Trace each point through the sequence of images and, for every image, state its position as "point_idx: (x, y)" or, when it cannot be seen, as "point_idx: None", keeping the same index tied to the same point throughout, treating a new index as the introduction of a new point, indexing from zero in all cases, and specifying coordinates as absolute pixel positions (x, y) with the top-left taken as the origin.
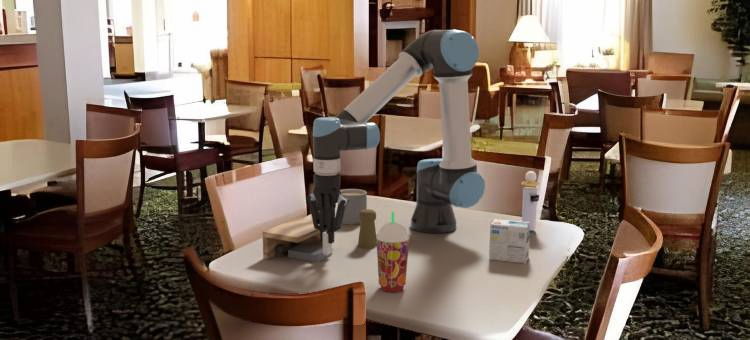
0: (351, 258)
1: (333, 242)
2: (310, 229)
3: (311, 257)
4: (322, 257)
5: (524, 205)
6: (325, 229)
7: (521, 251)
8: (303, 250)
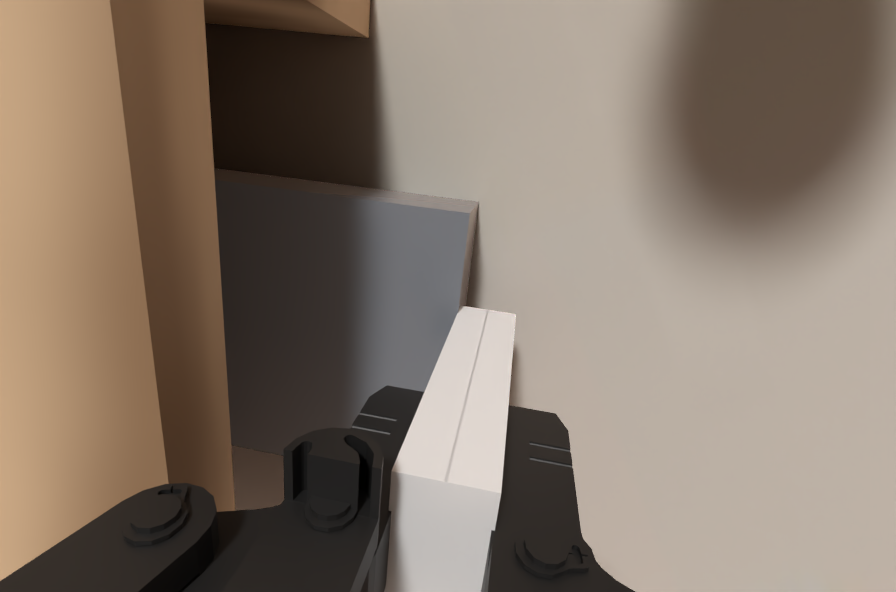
0: (732, 254)
1: (554, 421)
2: (98, 510)
3: None
4: None
5: None
6: (377, 573)
7: None
8: (244, 395)
